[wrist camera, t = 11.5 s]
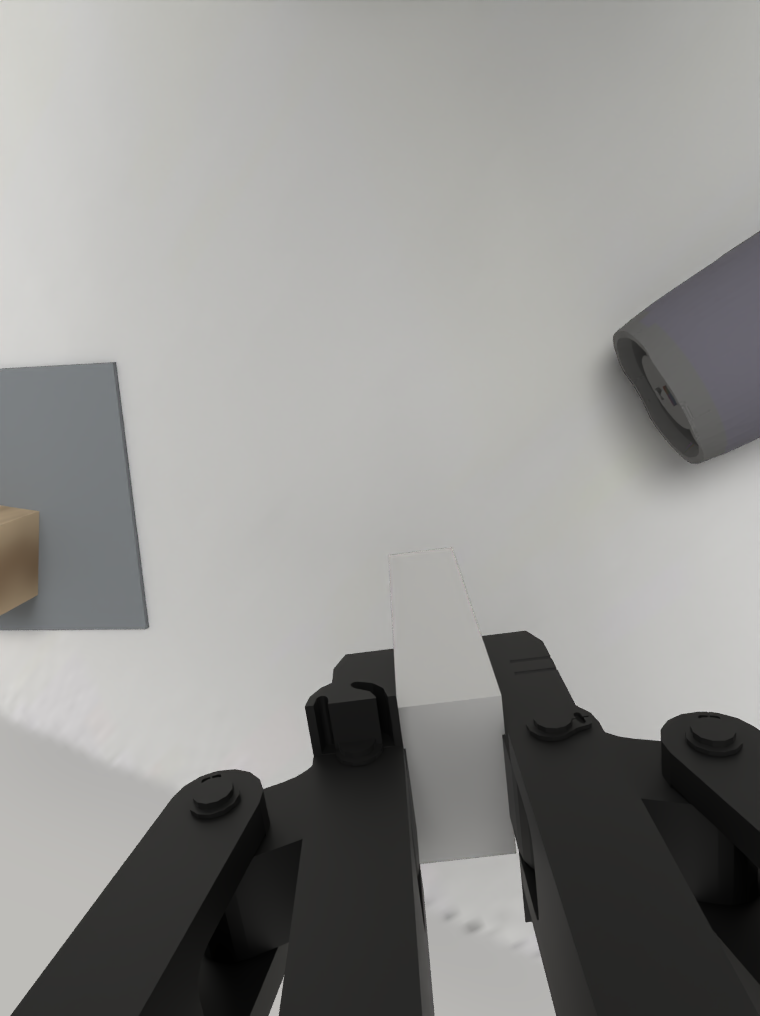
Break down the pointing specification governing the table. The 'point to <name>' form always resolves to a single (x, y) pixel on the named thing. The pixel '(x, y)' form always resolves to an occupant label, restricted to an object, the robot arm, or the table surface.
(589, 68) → the table surface
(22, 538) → the letter block
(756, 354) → the bluetooth speaker
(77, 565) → the mat
